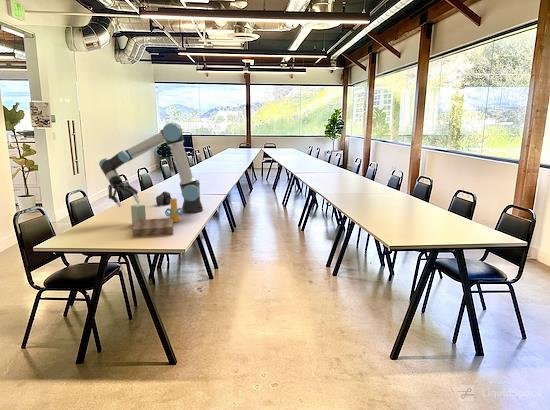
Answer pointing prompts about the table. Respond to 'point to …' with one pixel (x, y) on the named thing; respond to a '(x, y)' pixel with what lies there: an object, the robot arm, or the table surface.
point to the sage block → (138, 213)
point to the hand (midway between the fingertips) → (129, 204)
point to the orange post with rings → (174, 210)
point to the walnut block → (153, 227)
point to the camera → (163, 198)
